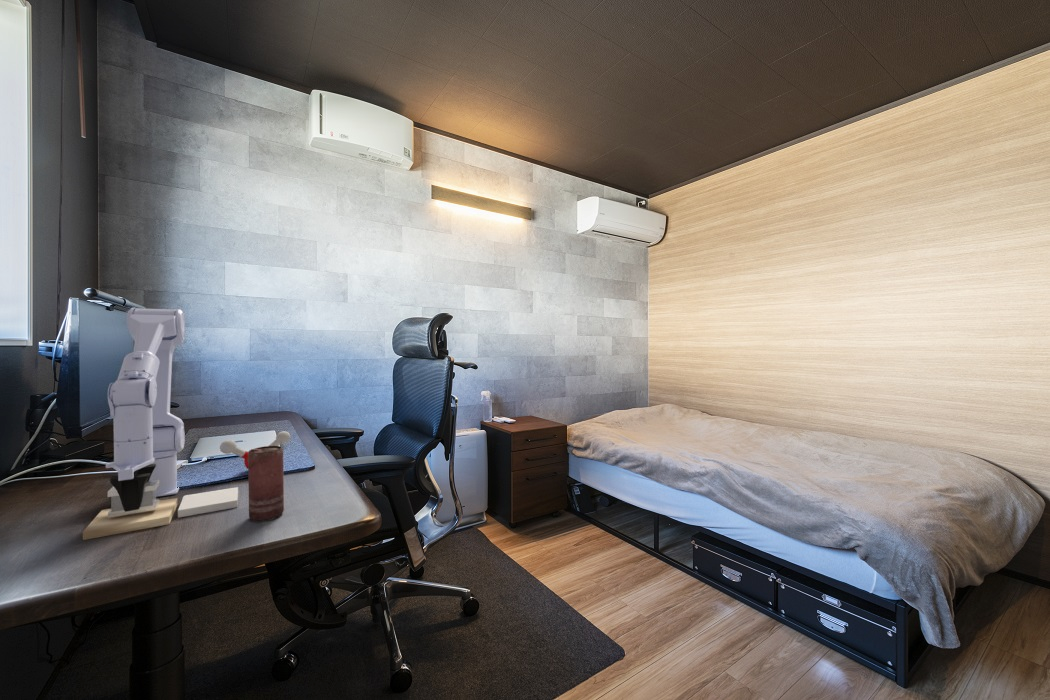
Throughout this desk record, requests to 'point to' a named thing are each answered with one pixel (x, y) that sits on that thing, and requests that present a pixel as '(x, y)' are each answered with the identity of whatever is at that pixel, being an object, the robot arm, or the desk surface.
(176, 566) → the desk surface
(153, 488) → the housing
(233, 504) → the stand
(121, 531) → the stand
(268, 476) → the can
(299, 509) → the desk surface
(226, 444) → the molecular model
